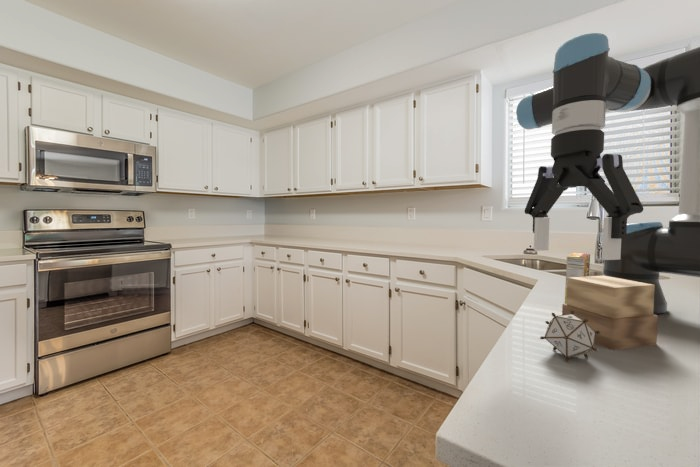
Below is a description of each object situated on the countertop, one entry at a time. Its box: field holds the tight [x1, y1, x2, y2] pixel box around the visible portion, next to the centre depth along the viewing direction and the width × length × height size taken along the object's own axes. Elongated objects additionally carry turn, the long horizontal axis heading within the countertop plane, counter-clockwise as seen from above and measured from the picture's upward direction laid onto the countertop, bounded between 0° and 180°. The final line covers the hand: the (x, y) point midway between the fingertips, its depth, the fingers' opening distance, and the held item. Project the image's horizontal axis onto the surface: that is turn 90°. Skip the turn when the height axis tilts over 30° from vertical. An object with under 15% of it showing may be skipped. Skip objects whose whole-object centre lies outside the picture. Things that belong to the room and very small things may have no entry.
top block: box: [567, 274, 655, 319], centre depth 66 cm, size 10×10×6 cm
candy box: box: [564, 252, 591, 304], centre depth 81 cm, size 9×4×15 cm, turn 138°
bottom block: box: [561, 303, 659, 351], centre depth 66 cm, size 11×11×6 cm
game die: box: [539, 310, 600, 363], centre depth 57 cm, size 9×8×10 cm
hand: (571, 254), depth 56 cm, fingers open, 13 cm apart
